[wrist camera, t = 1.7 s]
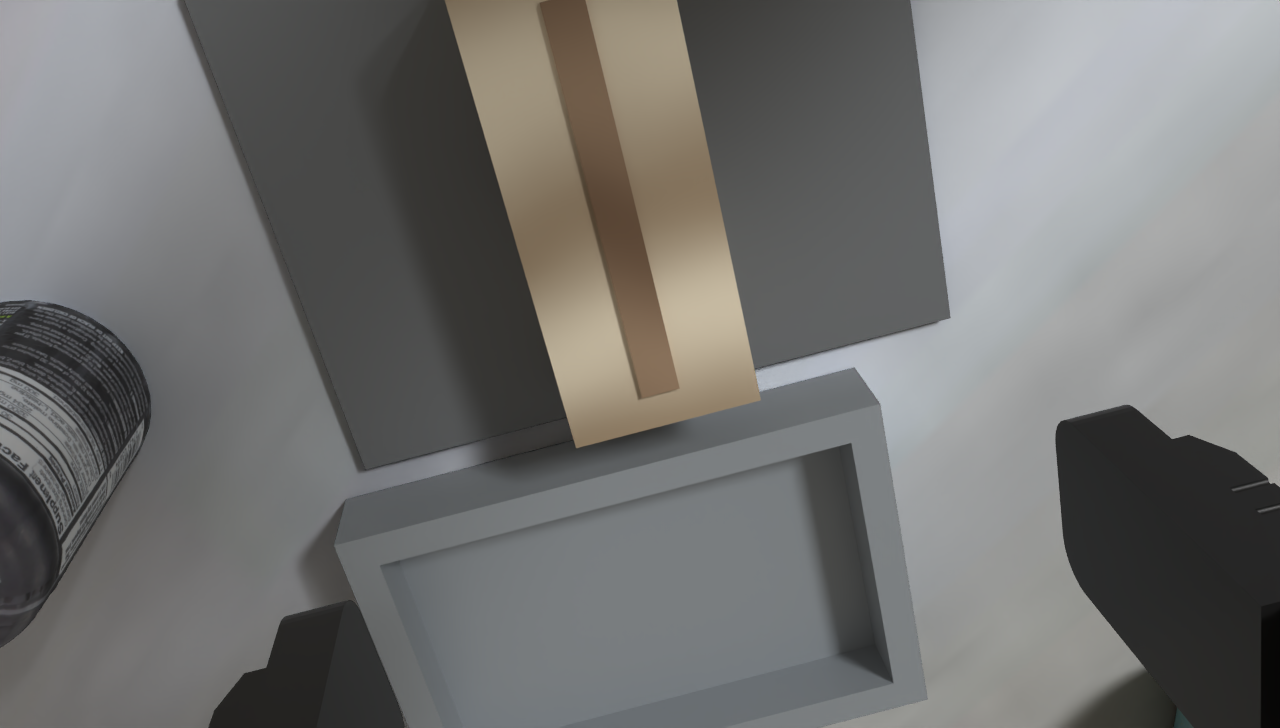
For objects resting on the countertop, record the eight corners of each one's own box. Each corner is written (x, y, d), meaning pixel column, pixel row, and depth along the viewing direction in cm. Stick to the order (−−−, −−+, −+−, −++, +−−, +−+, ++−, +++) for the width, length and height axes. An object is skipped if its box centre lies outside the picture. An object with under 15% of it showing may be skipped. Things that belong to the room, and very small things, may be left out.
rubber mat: (880, -191, 28) (885, -192, 28) (945, 313, 34) (950, 318, 34) (184, -12, 28) (180, -11, 28) (367, 463, 34) (365, 469, 34)
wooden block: (447, -35, 28) (438, -21, 24) (640, -85, 28) (661, -78, 24) (568, 385, 33) (576, 451, 29) (733, 342, 33) (762, 403, 29)
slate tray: (854, 367, 34) (880, 403, 32) (902, 649, 39) (927, 699, 37) (345, 499, 34) (333, 545, 32) (452, 766, 39) (448, 824, 36)
